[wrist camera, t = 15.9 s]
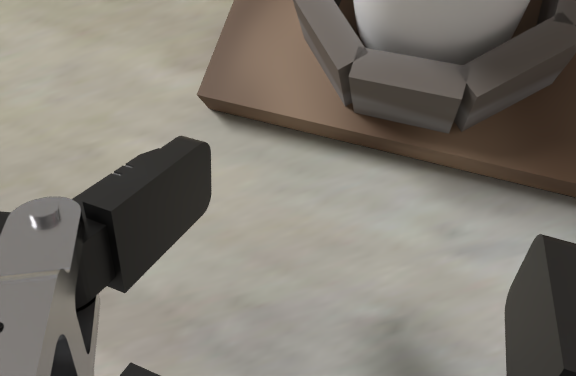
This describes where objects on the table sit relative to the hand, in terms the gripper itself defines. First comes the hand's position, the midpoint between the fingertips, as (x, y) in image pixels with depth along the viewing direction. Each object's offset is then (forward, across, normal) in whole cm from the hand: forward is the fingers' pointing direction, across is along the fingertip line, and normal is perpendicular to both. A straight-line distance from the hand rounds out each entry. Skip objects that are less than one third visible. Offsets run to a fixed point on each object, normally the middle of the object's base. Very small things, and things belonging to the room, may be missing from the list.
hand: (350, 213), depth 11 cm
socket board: (+13, 0, -2) cm, 13 cm away
